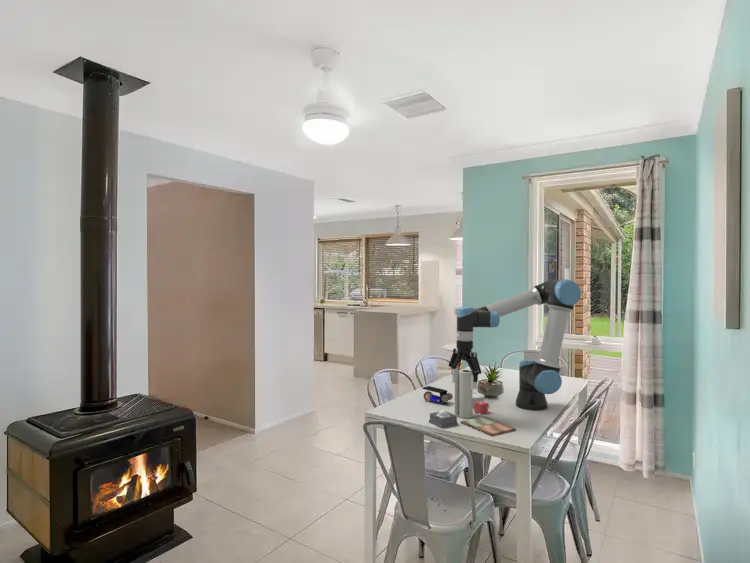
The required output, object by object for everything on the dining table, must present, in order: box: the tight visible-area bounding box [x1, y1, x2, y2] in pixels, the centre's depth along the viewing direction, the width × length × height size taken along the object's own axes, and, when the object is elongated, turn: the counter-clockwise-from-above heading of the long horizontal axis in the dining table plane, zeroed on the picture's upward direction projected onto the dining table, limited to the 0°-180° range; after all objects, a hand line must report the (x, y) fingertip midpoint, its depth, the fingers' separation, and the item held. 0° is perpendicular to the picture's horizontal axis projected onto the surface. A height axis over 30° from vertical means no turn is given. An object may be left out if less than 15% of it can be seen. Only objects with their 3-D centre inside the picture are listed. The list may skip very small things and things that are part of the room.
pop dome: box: [436, 409, 450, 418], centre depth 200 cm, size 6×6×5 cm
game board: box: [460, 416, 517, 437], centre depth 196 cm, size 14×19×1 cm
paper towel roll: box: [454, 369, 473, 419], centre depth 210 cm, size 7×6×21 cm
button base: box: [428, 411, 459, 429], centre depth 200 cm, size 9×9×4 cm
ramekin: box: [472, 391, 486, 407], centre depth 229 cm, size 11×11×5 cm
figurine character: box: [422, 385, 454, 406], centre depth 234 cm, size 7×8×15 cm
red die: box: [473, 401, 489, 415], centre depth 217 cm, size 4×4×5 cm
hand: (464, 385), depth 210 cm, fingers open, 13 cm apart
